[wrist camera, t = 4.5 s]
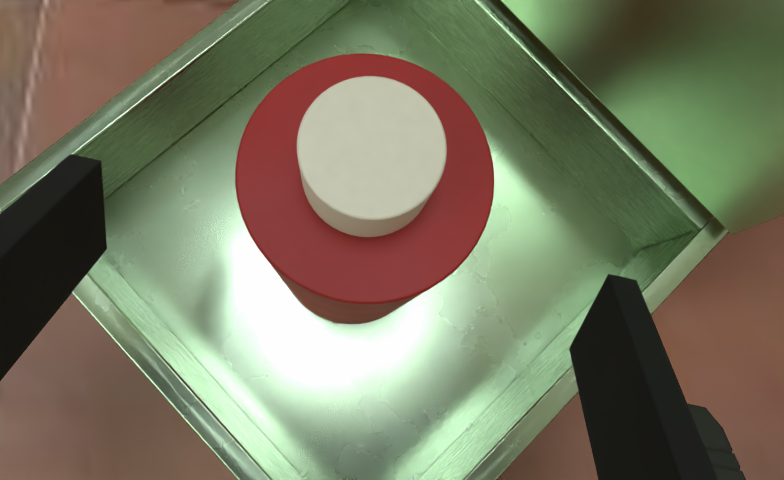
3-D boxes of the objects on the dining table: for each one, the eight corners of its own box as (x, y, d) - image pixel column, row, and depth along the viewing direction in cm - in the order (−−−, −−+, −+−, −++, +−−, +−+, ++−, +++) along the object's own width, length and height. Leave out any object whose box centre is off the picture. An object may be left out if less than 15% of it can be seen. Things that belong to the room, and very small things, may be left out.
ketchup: (249, 248, 26) (152, 132, 12) (356, 156, 27) (379, -48, 13) (348, 355, 25) (365, 364, 11) (451, 256, 26) (580, 157, 13)
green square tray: (357, 563, 25) (363, 621, 19) (55, 226, 26) (-16, 195, 21) (656, 252, 28) (730, 231, 23) (378, -33, 29) (387, -116, 24)
